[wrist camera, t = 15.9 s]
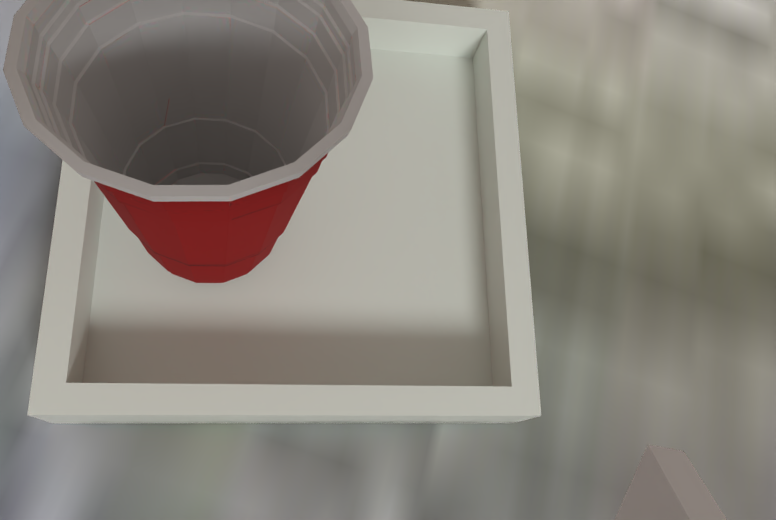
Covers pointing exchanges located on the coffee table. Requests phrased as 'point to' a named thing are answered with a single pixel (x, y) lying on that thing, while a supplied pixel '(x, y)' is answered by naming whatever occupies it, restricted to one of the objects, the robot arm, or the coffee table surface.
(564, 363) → the coffee table surface
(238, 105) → the plastic cup
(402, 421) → the tray
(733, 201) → the coffee table surface
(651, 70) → the coffee table surface
